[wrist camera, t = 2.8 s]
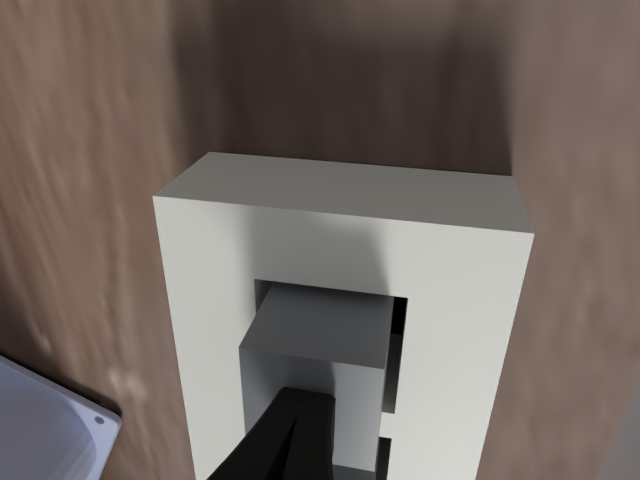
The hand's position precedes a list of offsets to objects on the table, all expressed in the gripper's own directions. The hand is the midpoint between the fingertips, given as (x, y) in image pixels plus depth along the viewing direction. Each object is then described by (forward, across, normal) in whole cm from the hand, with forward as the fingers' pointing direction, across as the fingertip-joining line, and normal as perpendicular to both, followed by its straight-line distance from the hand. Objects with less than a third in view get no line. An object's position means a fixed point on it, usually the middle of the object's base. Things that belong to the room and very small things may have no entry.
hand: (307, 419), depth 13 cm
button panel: (+7, 0, +6) cm, 9 cm away
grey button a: (+4, 0, 0) cm, 4 cm away
